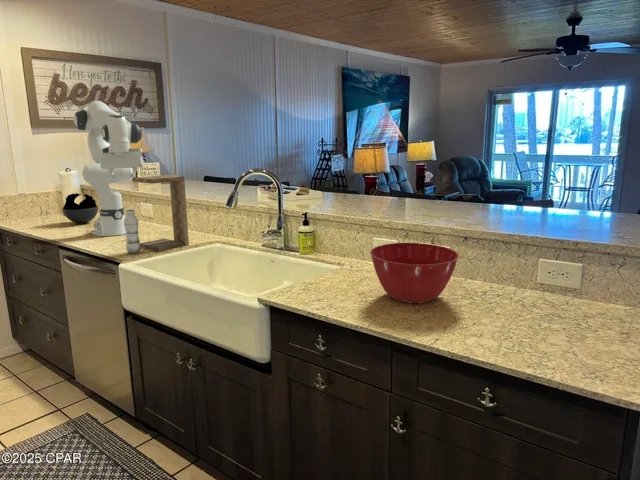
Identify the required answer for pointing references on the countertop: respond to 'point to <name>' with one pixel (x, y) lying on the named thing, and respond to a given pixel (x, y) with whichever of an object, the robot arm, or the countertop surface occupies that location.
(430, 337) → the countertop surface
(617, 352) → the countertop surface
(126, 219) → the plastic bottle
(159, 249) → the walnut shelf
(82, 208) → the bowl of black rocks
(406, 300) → the mixing bowl
